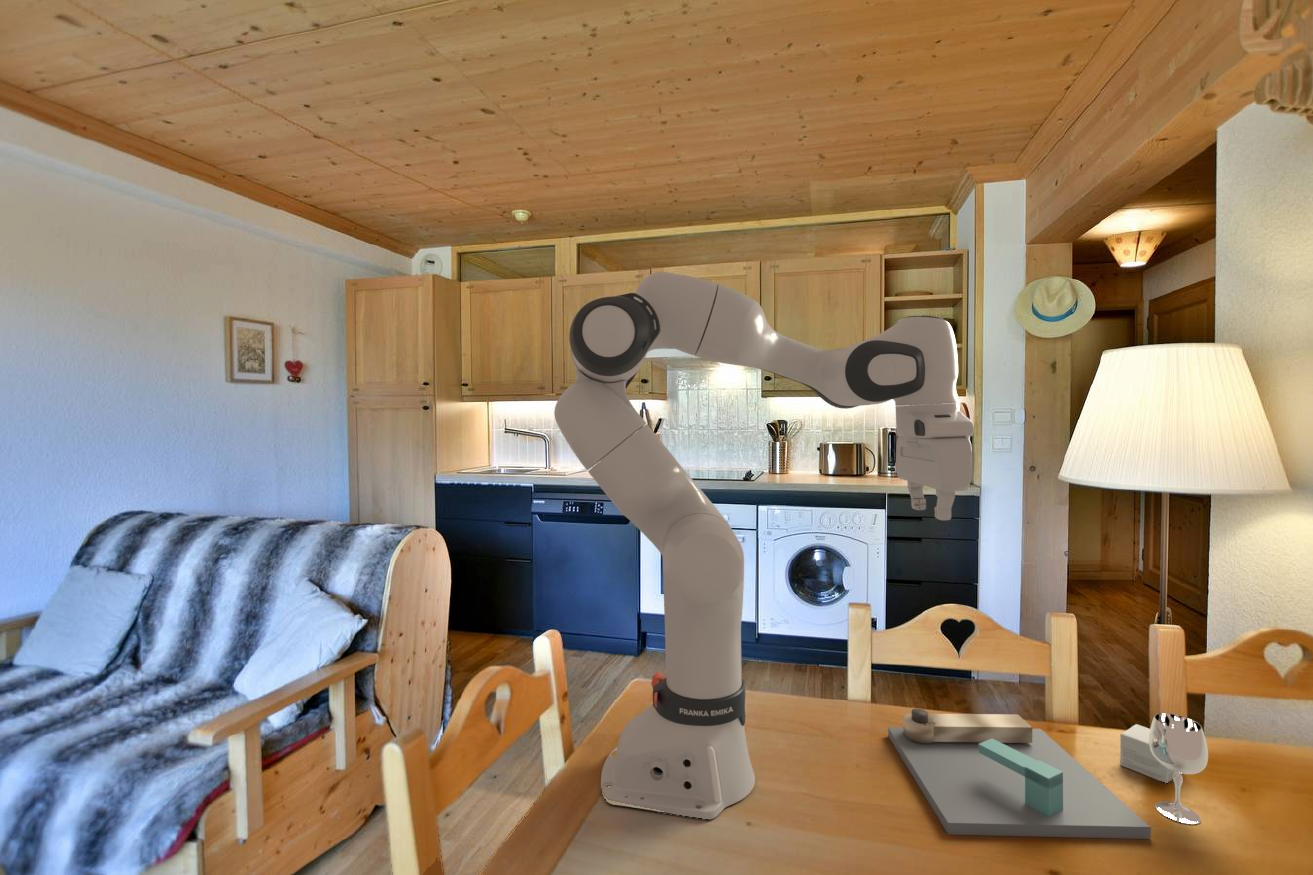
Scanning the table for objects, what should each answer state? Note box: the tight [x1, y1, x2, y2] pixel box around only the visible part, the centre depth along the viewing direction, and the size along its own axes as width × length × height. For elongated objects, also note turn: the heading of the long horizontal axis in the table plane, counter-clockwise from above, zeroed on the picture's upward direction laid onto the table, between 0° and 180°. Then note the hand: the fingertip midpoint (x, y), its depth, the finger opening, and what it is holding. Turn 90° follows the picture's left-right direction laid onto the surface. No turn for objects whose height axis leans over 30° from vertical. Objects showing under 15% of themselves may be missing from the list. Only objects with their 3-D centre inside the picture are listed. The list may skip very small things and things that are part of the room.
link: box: [903, 708, 1033, 743], centre depth 93 cm, size 18×5×4 cm, turn 86°
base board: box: [887, 726, 1152, 840], centre depth 84 cm, size 24×23×2 cm
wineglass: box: [1149, 712, 1209, 826], centre depth 76 cm, size 6×6×12 cm
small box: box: [1119, 723, 1174, 784], centre depth 86 cm, size 6×6×5 cm
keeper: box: [978, 739, 1063, 817], centre depth 79 cm, size 10×3×5 cm, turn 26°
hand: (930, 514), depth 90 cm, fingers open, 8 cm apart
